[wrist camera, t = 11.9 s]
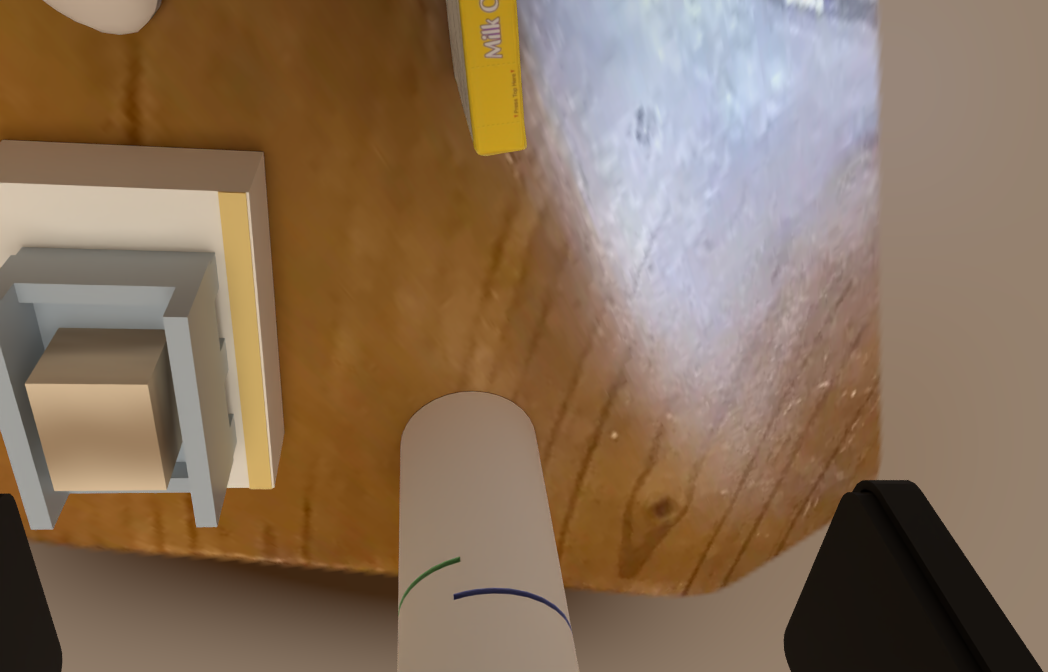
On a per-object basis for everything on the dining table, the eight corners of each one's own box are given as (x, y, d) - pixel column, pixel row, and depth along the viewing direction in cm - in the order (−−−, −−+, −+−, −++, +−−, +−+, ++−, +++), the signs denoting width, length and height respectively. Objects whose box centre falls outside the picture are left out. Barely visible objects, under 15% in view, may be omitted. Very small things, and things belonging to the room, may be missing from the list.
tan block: (58, 327, 33) (25, 383, 30) (170, 329, 33) (147, 384, 30) (83, 430, 35) (54, 491, 32) (186, 430, 36) (166, 490, 33)
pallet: (20, 242, 33) (-35, 313, 29) (214, 247, 34) (187, 317, 30) (72, 445, 38) (31, 529, 34) (237, 445, 39) (217, 526, 35)
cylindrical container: (540, 485, 48) (639, 1036, 27) (411, 503, 48) (413, 1074, 27) (530, 382, 44) (636, 938, 23) (389, 401, 44) (371, 981, 23)
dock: (2, 139, 34) (-42, 182, 31) (263, 151, 36) (248, 193, 33) (74, 432, 43) (45, 490, 39) (284, 432, 44) (274, 489, 41)
